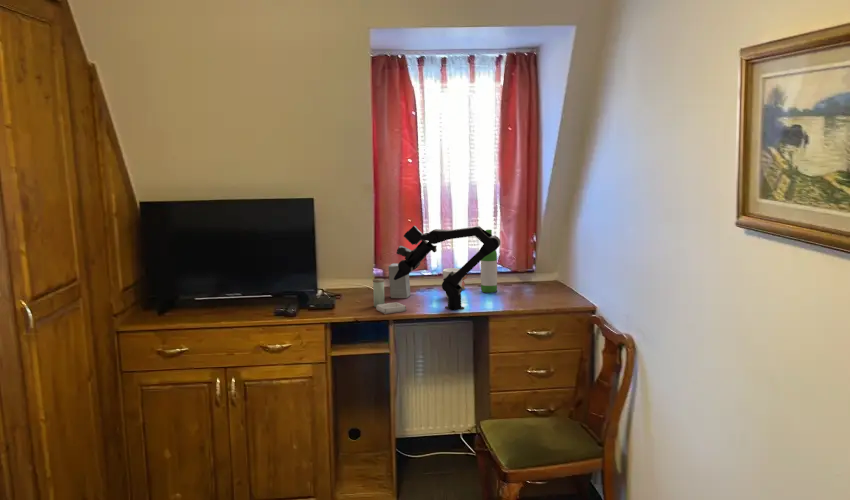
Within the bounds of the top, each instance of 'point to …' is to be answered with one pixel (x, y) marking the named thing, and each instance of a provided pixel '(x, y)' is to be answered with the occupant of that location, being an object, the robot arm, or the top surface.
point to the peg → (378, 291)
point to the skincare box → (398, 283)
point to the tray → (391, 308)
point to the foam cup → (449, 270)
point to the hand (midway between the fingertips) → (397, 277)
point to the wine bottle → (489, 272)
